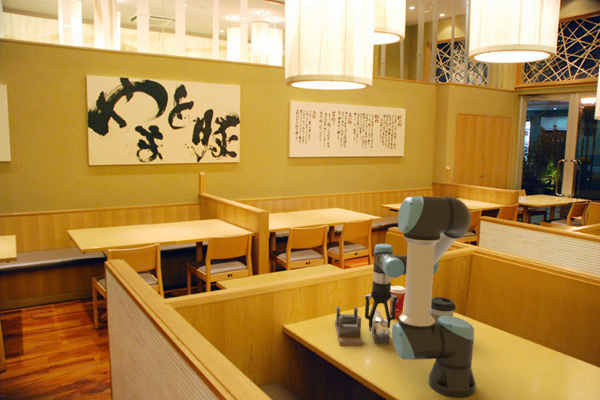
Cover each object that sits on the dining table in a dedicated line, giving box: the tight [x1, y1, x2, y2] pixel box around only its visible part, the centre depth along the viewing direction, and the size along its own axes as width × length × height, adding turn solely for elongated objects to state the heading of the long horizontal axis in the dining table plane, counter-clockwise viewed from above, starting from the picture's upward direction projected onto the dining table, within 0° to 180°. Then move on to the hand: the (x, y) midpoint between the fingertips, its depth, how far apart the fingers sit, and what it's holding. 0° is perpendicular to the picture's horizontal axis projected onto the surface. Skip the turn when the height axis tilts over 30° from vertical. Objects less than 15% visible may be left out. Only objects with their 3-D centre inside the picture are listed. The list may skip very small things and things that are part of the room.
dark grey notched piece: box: [334, 306, 363, 346], centre depth 203 cm, size 22×9×10 cm, turn 1°
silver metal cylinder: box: [373, 310, 391, 339], centre depth 201 cm, size 18×5×5 cm, turn 1°
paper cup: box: [389, 285, 405, 320], centre depth 224 cm, size 8×8×14 cm
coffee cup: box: [431, 296, 457, 323], centre depth 205 cm, size 11×11×15 cm
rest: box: [368, 326, 391, 345], centre depth 201 cm, size 15×6×3 cm, turn 1°
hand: (378, 334), depth 201 cm, fingers closed on silver metal cylinder, 5 cm apart
